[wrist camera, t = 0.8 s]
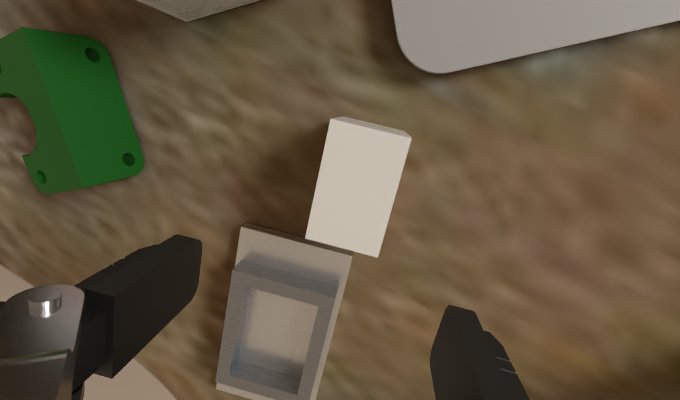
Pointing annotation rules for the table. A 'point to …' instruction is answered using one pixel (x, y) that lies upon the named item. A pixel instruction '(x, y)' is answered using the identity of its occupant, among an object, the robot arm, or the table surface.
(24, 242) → the table surface
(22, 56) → the clamp
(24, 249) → the table surface
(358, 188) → the block
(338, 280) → the grey flat block
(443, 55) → the tablet
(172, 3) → the light bulb box
